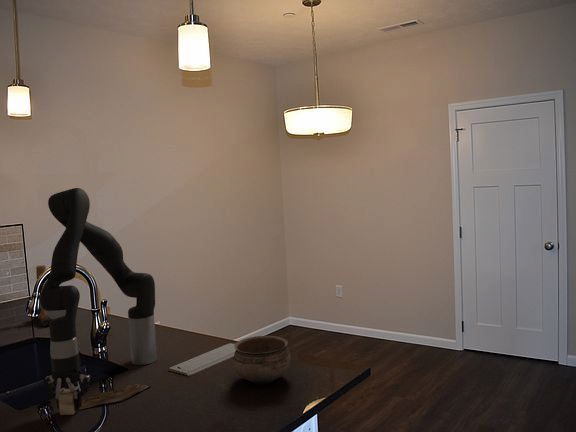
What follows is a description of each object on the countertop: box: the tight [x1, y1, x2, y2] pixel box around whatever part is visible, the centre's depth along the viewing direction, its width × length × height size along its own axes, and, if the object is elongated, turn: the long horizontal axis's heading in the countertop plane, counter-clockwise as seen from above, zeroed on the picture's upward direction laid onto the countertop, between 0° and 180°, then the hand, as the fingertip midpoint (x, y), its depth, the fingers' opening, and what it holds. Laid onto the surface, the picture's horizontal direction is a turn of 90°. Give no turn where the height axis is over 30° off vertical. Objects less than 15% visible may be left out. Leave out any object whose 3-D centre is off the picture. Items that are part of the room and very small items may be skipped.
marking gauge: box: [58, 388, 81, 416], centre depth 158 cm, size 12×4×6 cm, turn 177°
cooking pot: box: [232, 335, 292, 385], centre depth 171 cm, size 25×19×12 cm
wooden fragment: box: [78, 383, 151, 411], centre depth 163 cm, size 26×11×1 cm, turn 125°
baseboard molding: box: [168, 343, 236, 377], centre depth 193 cm, size 31×3×12 cm
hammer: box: [32, 265, 54, 328], centre depth 253 cm, size 20×5×30 cm, turn 42°
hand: (69, 409), depth 154 cm, fingers closed on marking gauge, 4 cm apart
